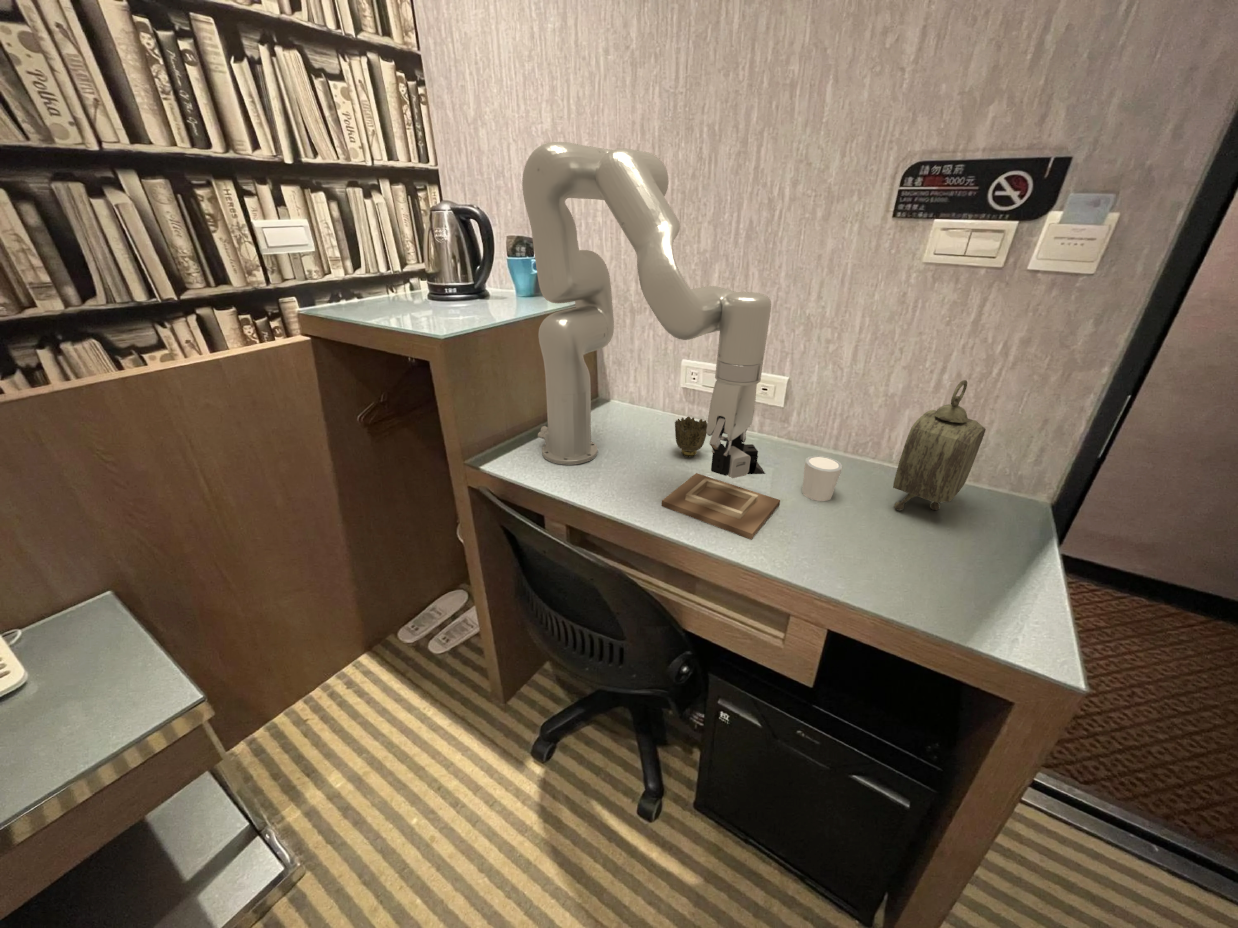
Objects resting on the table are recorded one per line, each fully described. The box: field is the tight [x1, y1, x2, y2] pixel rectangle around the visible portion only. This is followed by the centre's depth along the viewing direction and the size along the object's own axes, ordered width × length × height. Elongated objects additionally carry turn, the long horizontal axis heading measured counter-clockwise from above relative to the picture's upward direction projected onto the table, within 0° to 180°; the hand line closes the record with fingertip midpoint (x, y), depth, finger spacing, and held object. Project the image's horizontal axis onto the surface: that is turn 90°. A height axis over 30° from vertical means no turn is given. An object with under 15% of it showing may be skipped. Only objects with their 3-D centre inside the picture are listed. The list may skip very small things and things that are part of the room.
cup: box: [674, 416, 708, 458], centre depth 114 cm, size 8×7×8 cm
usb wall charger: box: [727, 446, 751, 479], centre depth 92 cm, size 4×7×4 cm, turn 26°
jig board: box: [661, 472, 781, 540], centre depth 96 cm, size 18×14×2 cm
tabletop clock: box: [892, 379, 986, 511], centre depth 93 cm, size 14×9×25 cm, turn 135°
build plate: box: [744, 443, 766, 475], centre depth 112 cm, size 12×7×5 cm, turn 4°
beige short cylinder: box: [801, 455, 843, 502], centre depth 100 cm, size 7×7×7 cm
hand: (726, 466), depth 93 cm, fingers closed on usb wall charger, 5 cm apart
